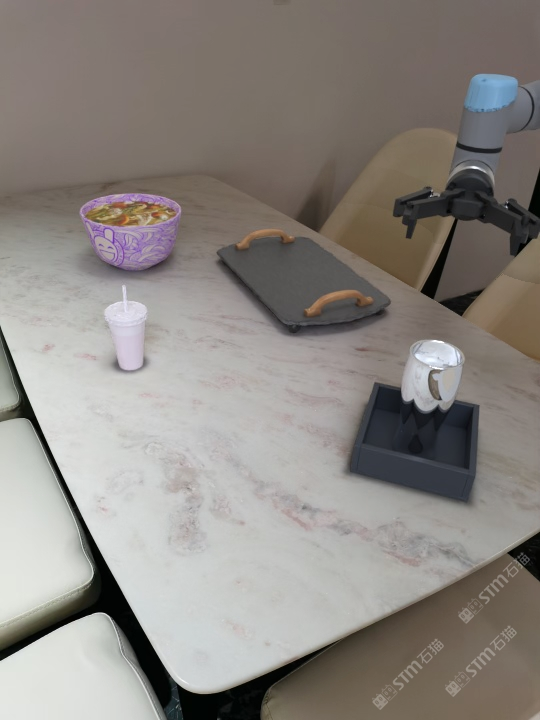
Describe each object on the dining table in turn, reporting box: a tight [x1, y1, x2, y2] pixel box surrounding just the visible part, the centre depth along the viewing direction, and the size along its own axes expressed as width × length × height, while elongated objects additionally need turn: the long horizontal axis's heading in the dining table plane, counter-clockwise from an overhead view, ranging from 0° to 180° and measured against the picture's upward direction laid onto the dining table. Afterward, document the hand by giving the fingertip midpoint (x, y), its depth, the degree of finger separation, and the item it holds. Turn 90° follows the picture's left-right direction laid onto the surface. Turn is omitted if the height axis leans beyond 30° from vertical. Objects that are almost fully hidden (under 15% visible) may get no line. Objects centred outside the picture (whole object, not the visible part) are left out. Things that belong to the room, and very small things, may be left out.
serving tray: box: [216, 228, 392, 334], centre depth 118 cm, size 39×23×6 cm, turn 26°
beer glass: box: [392, 339, 466, 460], centre depth 76 cm, size 7×7×15 cm
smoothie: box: [103, 284, 149, 371], centre depth 90 cm, size 6×6×14 cm
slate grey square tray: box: [349, 381, 481, 503], centre depth 79 cm, size 15×15×5 cm
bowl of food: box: [78, 193, 182, 272], centre depth 123 cm, size 20×20×12 cm
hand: (461, 237), depth 78 cm, fingers open, 13 cm apart
